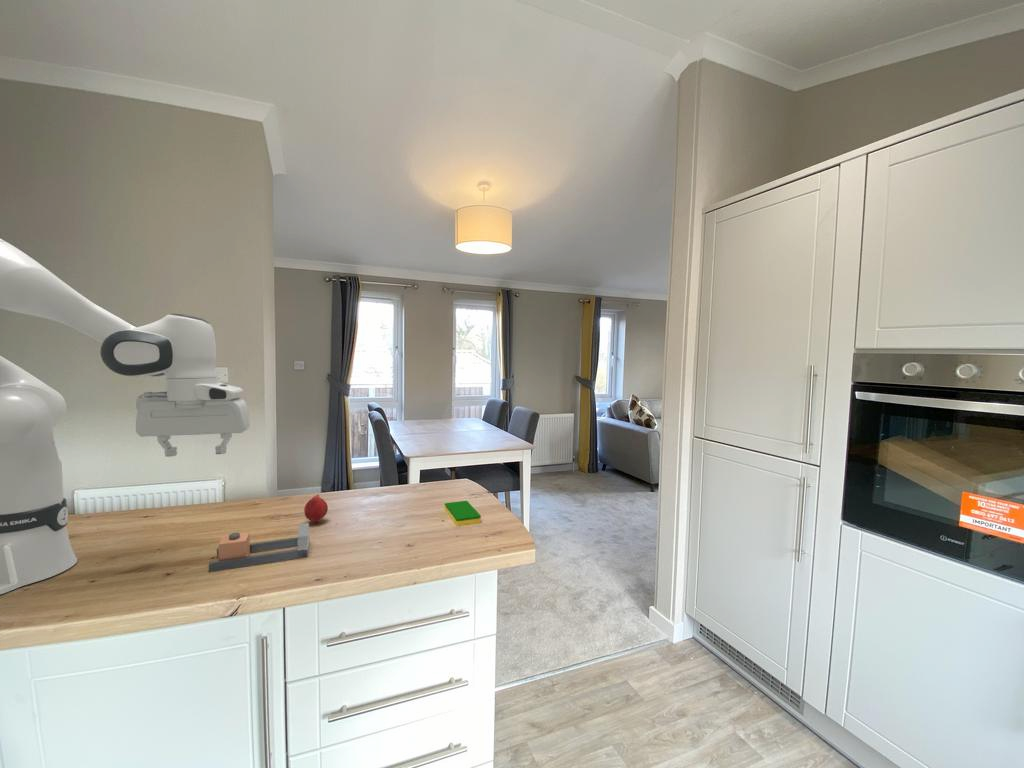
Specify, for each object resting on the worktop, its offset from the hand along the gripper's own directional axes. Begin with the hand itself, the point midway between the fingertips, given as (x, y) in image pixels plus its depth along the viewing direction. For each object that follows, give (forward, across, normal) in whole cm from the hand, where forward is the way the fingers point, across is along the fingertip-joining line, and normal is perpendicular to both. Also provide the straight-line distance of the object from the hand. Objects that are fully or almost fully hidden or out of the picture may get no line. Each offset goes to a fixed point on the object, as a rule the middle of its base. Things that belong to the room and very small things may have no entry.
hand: (196, 454), depth 91 cm
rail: (+24, +12, +1) cm, 27 cm away
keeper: (+24, +6, 0) cm, 25 cm away
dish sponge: (+26, +59, +17) cm, 67 cm away
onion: (+25, +19, +19) cm, 37 cm away
